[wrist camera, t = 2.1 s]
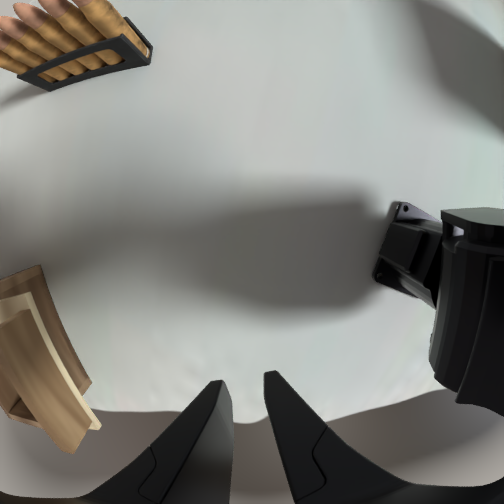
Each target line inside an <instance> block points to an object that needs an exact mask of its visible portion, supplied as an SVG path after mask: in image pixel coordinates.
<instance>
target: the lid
mask: <svg viewBox="0 0 504 504" xmlns="http://www.w3.org/2000/svg"><path fill="white" fill-rule="evenodd" d="M0 363H1V365H2V367H3V368H4V370H5V372H6V374H7V376H8V377H9V379H10V381H11V382H12V384H13V386H14V387H15V389H16V391H17V392H18V394H19V395H20V397H21V398H22V400H23V401H24V403H25V404H26V406H27V407H28V409H29V410H30V412H31V413H32V414H33V416H34V417H35V418H36V420H37V421H38V422H39V424H40V425H41V426H42V428H43V429H44V430H45V431H46V433H47V434H48V435H49V436H50V437H51V439H52V440H53V441H54V442H55V444H56V445H57V446H58V447H59V448H60V449H61V450H62V451H64V452H67V453H71V454H74V452H75V451H76V449H77V447H78V445H79V444H80V442H81V440H82V439H83V437H84V435H85V433H86V432H87V430H88V429H96V430H99V429H100V427H101V423H100V422H99V421H98V419H97V418H96V416H95V415H94V414H93V412H92V411H91V409H90V408H89V406H88V405H87V403H86V402H85V400H84V399H83V397H82V396H81V394H80V392H79V391H78V389H77V387H76V386H75V384H74V383H73V381H72V379H71V377H70V376H69V374H68V372H67V370H66V369H65V367H64V365H63V363H62V361H61V359H60V357H59V356H58V354H57V352H56V350H55V348H54V346H53V344H52V342H51V339H50V337H49V335H48V333H47V331H46V329H45V326H44V324H43V322H42V319H41V317H40V315H39V312H38V310H37V307H36V305H35V302H34V299H33V297H32V294H31V292H27V293H24V294H20V295H17V296H13V297H10V298H6V299H3V300H0Z"/></svg>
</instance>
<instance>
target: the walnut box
mask: <svg viewBox="0 0 504 504" xmlns="http://www.w3.org/2000/svg"><path fill="white" fill-rule="evenodd" d="M27 292H31V294H32V297H33V299H34V302H35V305H36V307H37V310H38V312H39V315H40V317H41V319H42V322H43V324H44V326H45V329H46V331H47V333H48V335H49V337H50V339H51V342H52V344H53V346H54V348H55V350H56V352H57V354H58V356H59V357H60V359H61V361H62V363H63V365H64V367H65V369H66V370H67V372H68V374H69V376H70V377H71V379H72V381H73V383H74V384H75V386H76V387H77V389H78V391H79V392H80V394H81V396H83V394H84V393H85V392H86V390H87V389H88V388H89V386H90V385H91V384H92V382H91V380H90V378H89V377H88V375H87V373H86V371H85V370H84V368H83V366H82V364H81V362H80V360H79V358H78V356H77V355H76V353H75V351H74V349H73V347H72V344H71V342H70V340H69V338H68V336H67V334H66V332H65V329H64V327H63V325H62V323H61V320H60V318H59V316H58V313H57V311H56V308H55V306H54V303H53V301H52V298H51V295H50V293H49V290H48V287H47V284H46V281H45V278H44V275H43V272H42V269H41V266H40V265H37V266H34V267H31V268H29V269H26V270H23V271H21V272H18V273H15V274H13V275H10V276H8V277H5V278H3V279H0V300H3V299H6V298H10V297H13V296H17V295H20V294H24V293H27ZM0 406H1V407H2V409H3V410H4V411H5V413H6V414H7V416H8V417H9V418H11V419H13V420H17V421H19V422H23V423H26V424H29V425H32V426H35V427H39V428H42V426H41V425H40V424H39V422H38V421H37V420H36V418H35V417H34V416H33V414H32V413H31V412H30V410H29V409H28V407H27V406H26V404H25V403H24V401H23V400H22V398H21V397H20V395H19V394H18V392H17V391H16V389H15V387H14V386H13V384H12V382H11V381H10V379H9V377H8V376H7V374H6V372H5V370H4V368H3V367H2V365H1V363H0ZM42 429H43V428H42Z"/></svg>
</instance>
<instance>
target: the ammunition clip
mask: <svg viewBox="0 0 504 504" xmlns="http://www.w3.org/2000/svg"><path fill="white" fill-rule="evenodd" d="M38 1H39V3H40V5H41V6H42V7H43V8H44V9H45V10H46V11H47V12H48V13H49V14H48V13H46V12H44V11H43V10H41V9H39V8H37V7H35V6H33V5H30V4H25V3H15V4H14V5H13V8H14V11H15V13H16V14H17V15H18V17H19V18H20V19H21V20H22V21H21V20H19V19H16V18H13V17H8V16H0V29H1V30H2V31H1V30H0V67H1V68H3V69H6V70H8V71H11V72H14V73H16V74H18V75H17V78H18V79H21V80H23V81H26V82H28V83H31V84H33V85H35V86H38V87H40V88H42V89H45V90H47V91H50V92H51V91H53V90H56V89H59V88H62V87H64V86H67V85H70V84H73V83H76V82H80V81H83V80H86V79H90V78H93V77H97V76H101V75H104V74H108V73H112V72H117V71H121V70H126V69H131V68H136V67H141V66H147V65H150V63H151V56H152V50H153V46H152V45H151V44H150V43H149V41H148V40H147V39H146V38H145V37H144V36H143V34H142V33H141V32H140V31H139V30H138V29H137V28H136V26H135V25H134V24H133V23H132V22H131V21H130V19H129V18H128V17H122V16H121V15H120V14H119V13H118V11H117V10H116V9H115V8H114V7H113V6H112V4H111V3H110V2H108V1H107V0H72V1H73V2H74V3H75V4H76V5H77V6H78V8H77V7H76V6H74V5H73V4H72V3H70V2H68V1H67V0H38ZM51 15H52V16H51Z"/></svg>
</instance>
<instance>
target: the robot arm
mask: <svg viewBox="0 0 504 504" xmlns="http://www.w3.org/2000/svg"><path fill="white" fill-rule="evenodd" d="M404 206H406V210H405V211H404V210H403V207H404ZM441 220H442V222H440V221H439V220H437V219H435V218H434V217H432V216H430V215H429V214H427V213H425V212H424V211H422V210H420V209H418V208H417V207H415V206H413V205H411V204H410V203H408V202H401V203H400V204H399V206H398V209H397V212H396V214H395V217H394V220H393V223H391V224H390V227H389V229H388V232H387V235H386V237H385V240H384V243H383V245H382V248H381V250H380V253H379V254H380V257H379V259H378V261H377V264H376V266H375V269H374V271H373V274H372V278H373V279H374V280H375V281H376V282H378V283H381V284H383V285H386V286H389V287H391V288H394V289H397V290H399V291H402V292H405V293H407V294H410V295H412V296H415V297H418V298H420V299H421V300H423V301H424V302H425V303H427V304H428V305H430V306H431V307H432V308H434V309H435V310H436V315H435V321H434V327H433V333H432V334H431V338H430V348H429V362H430V364H431V366H432V368H433V371H434V372H435V374H434V378H435V379H436V380H437V381H438V382H439V383H440V384H441V385H443V386H444V387H446V388H447V389H449V390H451V391H453V392H455V393H458V394H457V396H456V399H455V402H456V403H459V404H473V405H477V406H481V407H485V408H487V409H490V410H492V411H494V412H496V413H498V414H499V415H501V416H503V417H504V209H498V208H489V207H481V208H464V209H448V210H441ZM379 273H380V274H381V275H380V277H378V278H377V275H378V274H379ZM264 400H265V404H266V408H267V411H268V415H269V419H270V422H271V426H272V429H273V433H274V436H275V440H276V443H277V447H278V450H279V454H280V457H281V460H282V464H283V467H284V470H285V474H286V477H287V481H288V484H289V487H290V490H291V494H292V497H293V500H294V503H295V504H504V477H503V478H501V479H499V480H497V481H495V482H493V483H490V484H487V485H483V486H474V487H458V486H436V485H425V484H416V483H411V482H408V481H404V480H402V479H400V478H398V477H396V476H394V475H393V474H391V473H389V472H388V471H386V470H385V469H383V468H381V467H380V466H378V465H376V464H375V463H374V462H372V461H370V460H369V459H367V458H366V457H364V456H363V455H361V454H360V453H359V452H357V451H356V450H354V449H353V448H352V447H351V446H349V445H348V444H347V443H346V442H344V440H342V439H341V438H340V437H339V436H338V435H337V434H336V433H335V432H334V431H333V430H332V429H331V428H330V427H328V425H327V424H326V423H325V422H324V421H323V420H322V419H321V418H320V417H319V416H318V415H317V414H316V413H315V412H314V410H313V409H312V408H311V407H310V406H309V405H308V404H307V403H306V402H305V401H304V400H303V399H302V398H301V397H300V396H299V394H298V393H297V392H296V391H295V390H294V389H293V388H292V387H291V386H290V385H289V383H288V382H287V381H286V380H285V379H284V378H283V377H282V376H281V375H280V373H279V372H278V371H276V370H274V371H269V372H265V373H264ZM233 451H234V429H233V410H232V400H231V396H230V394H229V391H228V389H227V386H226V384H225V382H224V381H223V380H215V381H211V382H210V383H209V384H208V385H207V386H206V387H205V388H204V389H203V390H202V391H201V392H200V393H199V395H198V396H197V397H196V398H195V399H194V400H193V401H192V402H191V403H190V404H189V405H188V406H187V407H186V408H185V410H184V411H183V412H182V413H181V414H180V415H179V416H178V417H177V418H176V419H175V420H174V421H173V422H172V423H171V424H170V425H169V426H168V427H167V428H166V429H165V430H164V431H163V432H162V433H161V434H160V435H159V436H158V438H156V439H155V440H154V441H153V442H152V443H151V444H150V446H148V447H147V448H146V449H145V450H144V451H143V452H142V453H141V454H140V455H139V456H138V457H137V458H135V459H134V460H133V461H132V462H131V463H130V464H129V465H127V466H126V467H125V468H124V469H122V470H121V471H120V472H118V473H117V474H116V475H114V476H113V477H112V478H110V479H109V480H108V481H106V482H105V483H103V484H102V485H100V486H99V487H97V488H96V489H95V490H93V491H92V492H90V493H88V494H86V495H84V496H80V497H76V498H32V497H19V496H13V495H9V494H6V493H3V492H1V491H0V504H229V500H230V487H231V476H232V462H233Z"/></svg>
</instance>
